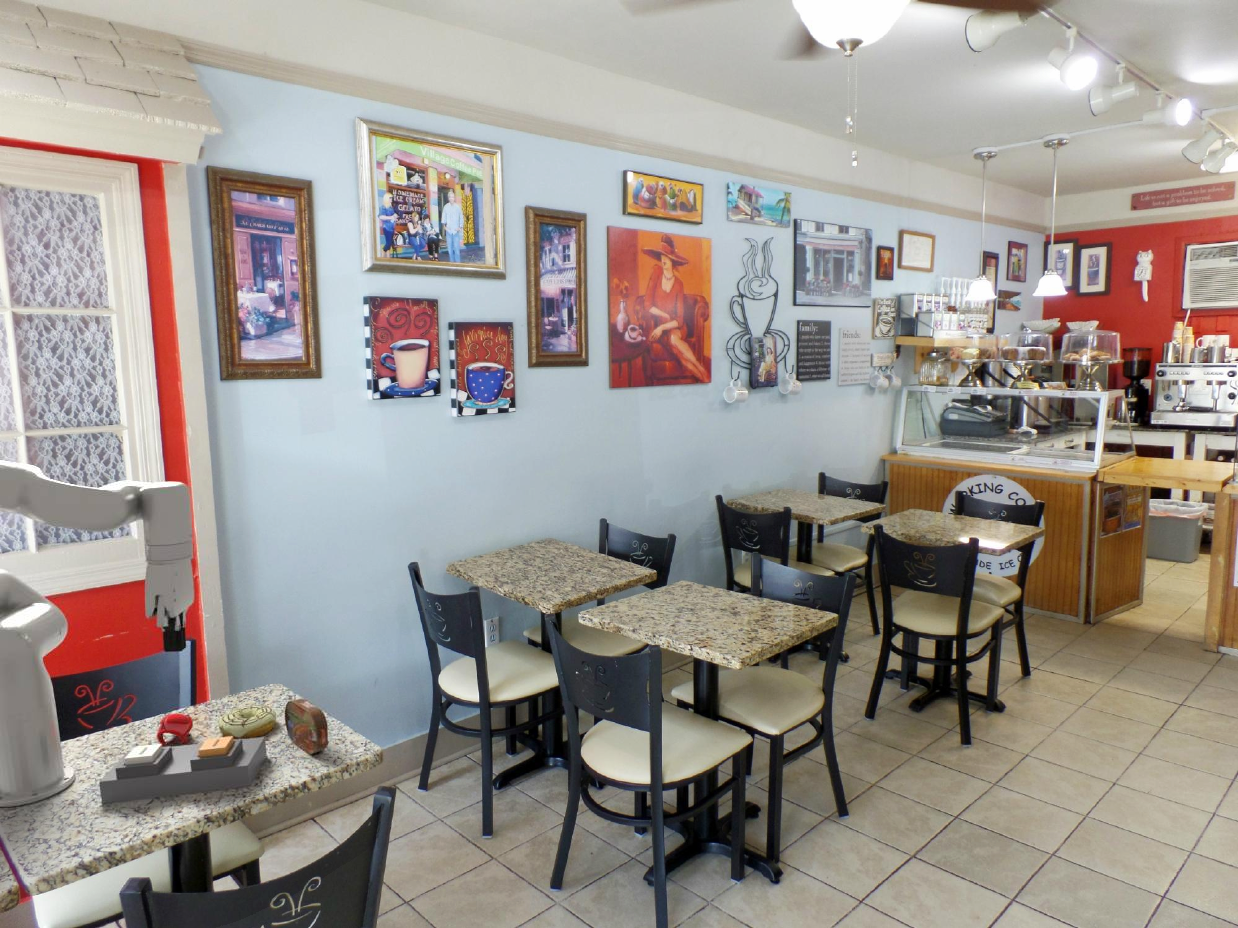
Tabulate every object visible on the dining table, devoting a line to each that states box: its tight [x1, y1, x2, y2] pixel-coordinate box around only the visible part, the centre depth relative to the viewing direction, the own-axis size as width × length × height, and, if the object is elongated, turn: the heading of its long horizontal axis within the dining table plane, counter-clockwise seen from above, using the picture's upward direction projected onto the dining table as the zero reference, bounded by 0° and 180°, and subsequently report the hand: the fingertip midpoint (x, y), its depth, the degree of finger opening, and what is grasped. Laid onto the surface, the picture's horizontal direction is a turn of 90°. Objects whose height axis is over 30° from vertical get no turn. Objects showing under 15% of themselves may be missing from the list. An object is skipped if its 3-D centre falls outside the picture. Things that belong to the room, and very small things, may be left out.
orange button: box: [198, 736, 234, 757], centre depth 143 cm, size 4×4×2 cm
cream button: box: [124, 743, 163, 765], centre depth 141 cm, size 4×4×2 cm
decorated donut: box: [218, 704, 277, 740], centre depth 164 cm, size 10×11×4 cm
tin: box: [284, 698, 329, 755], centre depth 156 cm, size 15×3×8 cm, turn 44°
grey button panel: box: [98, 736, 268, 805], centre depth 144 cm, size 24×11×6 cm, turn 99°
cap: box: [156, 712, 194, 747], centre depth 160 cm, size 8×6×6 cm
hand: (175, 649), depth 146 cm, fingers closed
